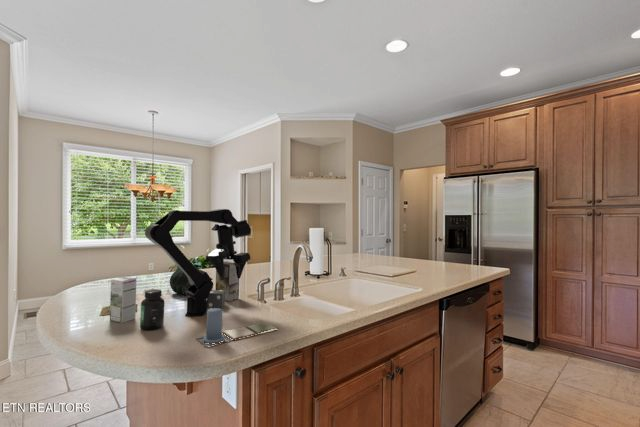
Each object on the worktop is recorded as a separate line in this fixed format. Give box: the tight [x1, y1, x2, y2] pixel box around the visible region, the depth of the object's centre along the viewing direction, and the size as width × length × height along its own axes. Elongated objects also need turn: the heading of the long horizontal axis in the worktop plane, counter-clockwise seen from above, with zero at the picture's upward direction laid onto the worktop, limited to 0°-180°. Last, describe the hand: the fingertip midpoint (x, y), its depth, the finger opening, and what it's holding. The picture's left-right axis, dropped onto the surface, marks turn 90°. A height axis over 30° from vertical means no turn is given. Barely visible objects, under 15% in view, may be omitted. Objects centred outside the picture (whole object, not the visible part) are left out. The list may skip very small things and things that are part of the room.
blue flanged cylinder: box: [202, 308, 225, 345], centre depth 96 cm, size 6×6×9 cm
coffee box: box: [215, 260, 240, 302], centre depth 145 cm, size 9×6×16 cm
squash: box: [169, 265, 200, 296], centre depth 151 cm, size 14×15×15 cm
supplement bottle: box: [139, 289, 165, 332], centre depth 105 cm, size 7×7×12 cm
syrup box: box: [109, 276, 137, 324], centre depth 112 cm, size 6×6×14 cm
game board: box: [195, 322, 277, 348], centre depth 101 cm, size 24×8×1 cm, turn 131°
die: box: [206, 289, 226, 309], centre depth 131 cm, size 6×6×6 cm
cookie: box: [99, 303, 138, 317], centre depth 123 cm, size 12×12×1 cm
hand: (230, 277), depth 130 cm, fingers open, 9 cm apart
